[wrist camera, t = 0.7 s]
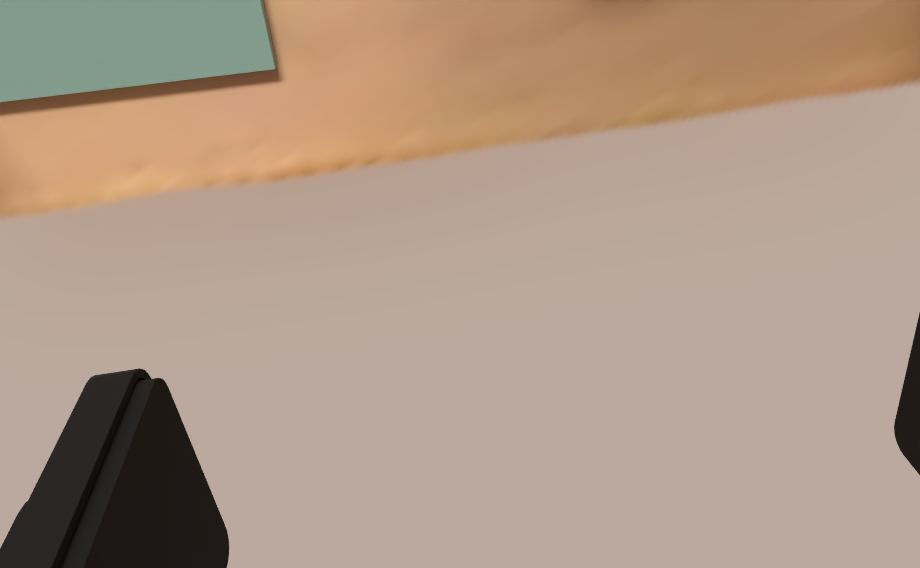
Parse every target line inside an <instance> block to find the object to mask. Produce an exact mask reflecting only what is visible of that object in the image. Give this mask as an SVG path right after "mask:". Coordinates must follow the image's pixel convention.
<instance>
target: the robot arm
mask: <svg viewBox="0 0 920 568" xmlns="http://www.w3.org/2000/svg"><path fill="white" fill-rule="evenodd" d="M894 430H895V437H896V441H897V444H898V446H899V448H900V450H901V452H902V453H903V455H904V456H905V457H906V458H907V460H908V461H909V462H910V463H911V465H912V466H913V467H914V468H915V470H916V471H917V472H918V473H919V475H920V314H919V319H918V323H917V327H916V331H915V336H914V340H913V345H912V349H911V354H910V358H909V362H908V367H907V371H906V375H905V380H904V384H903V389H902V393H901V397H900V402H899V406H898V411H897V415H896V419H895V426H894ZM228 557H229V540H228V534H227V530H226V527H225V524H224V522H223V519H222V517H221V515H220V512H219V510H218V507H217V505H216V503H215V500H214V498H213V495H212V493H211V490H210V488H209V485H208V483H207V481H206V478H205V476H204V473H203V471H202V469H201V466H200V463H199V461H198V459H197V457H196V454H195V451H194V449H193V447H192V444H191V442H190V439H189V437H188V434H187V432H186V430H185V427H184V425H183V422H182V420H181V418H180V415H179V413H178V410H177V408H176V405H175V403H174V400H173V398H172V396H171V393H170V391H169V388H168V386H167V384H166V383H165V381H164V380H163V379H161V378H155V379H151V378H150V376H149V374H148V373H147V372H146V371H145V370H143V369H134V370H128V371H121V372H115V373H108V374H101V375H95V376H93V377H91V378H90V379H89V380H88V382H87V383H86V385H85V387H84V389H83V391H82V393H81V395H80V397H79V399H78V401H77V403H76V405H75V407H74V409H73V411H72V413H71V415H70V417H69V419H68V421H67V423H66V426H65V427H64V429H63V432H62V434H61V435H60V437H59V440H58V441H57V444H56V446H55V448H54V450H53V452H52V454H51V456H50V458H49V460H48V462H47V464H46V466H45V468H44V470H43V472H42V474H41V476H40V478H39V480H38V482H37V484H36V486H35V488H34V490H33V492H32V494H31V496H30V498H29V500H28V501H27V502H26V503H25V504H24V506H23V507H22V509H21V510H20V512H19V513H18V515H17V517H16V519H15V521H14V523H13V524H12V527H11V528H10V531H9V532H8V534H7V537H6V539H5V540H4V542H3V544H2V546H1V548H0V568H227V563H228Z"/></svg>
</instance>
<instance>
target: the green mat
mask: <svg viewBox="0 0 920 568" xmlns="http://www.w3.org/2000/svg"><path fill="white" fill-rule="evenodd" d="M276 66H277V62H276V57H275V53H274V48H273V43H272V39H271V34H270V30H269V25H268V20H267V16H266V11H265V7H264V2H263V0H0V102H6V101H15V100H23V99H31V98H40V97H48V96H56V95H65V94H73V93H81V92H89V91H98V90H106V89H114V88H123V87H131V86H139V85H148V84H156V83H164V82H172V81H181V80H189V79H197V78H206V77H214V76H222V75H231V74H239V73H247V72H255V71H264V70H272V69H275V68H276Z"/></svg>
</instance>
